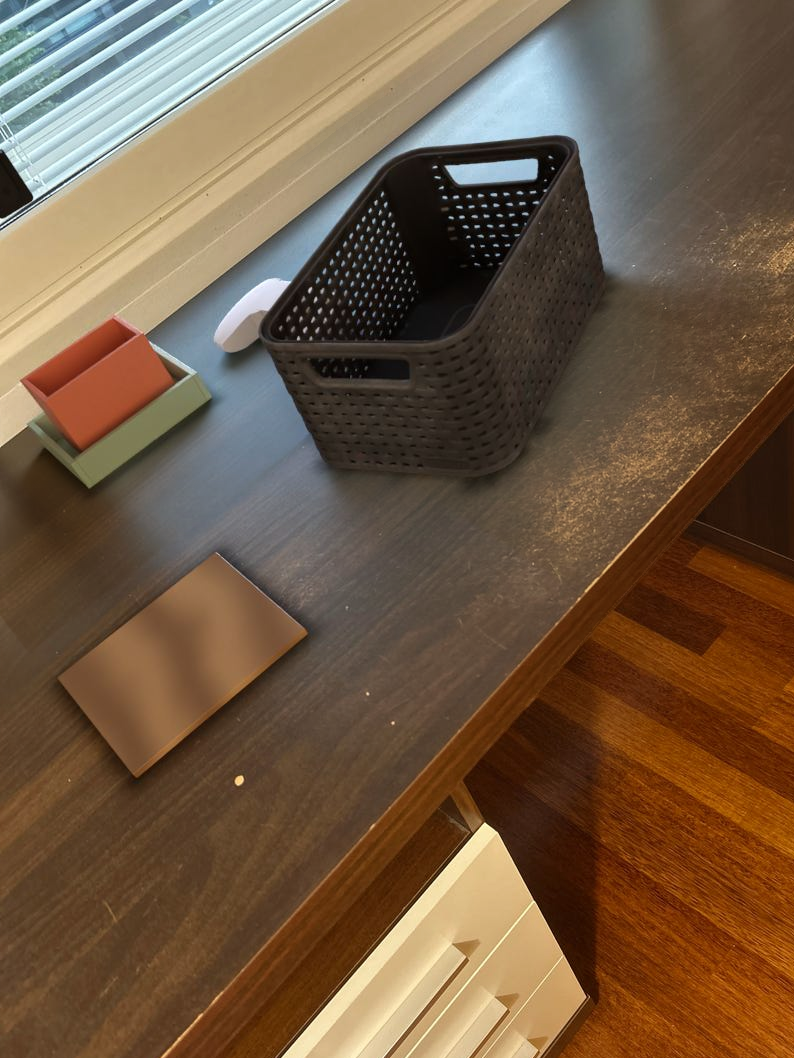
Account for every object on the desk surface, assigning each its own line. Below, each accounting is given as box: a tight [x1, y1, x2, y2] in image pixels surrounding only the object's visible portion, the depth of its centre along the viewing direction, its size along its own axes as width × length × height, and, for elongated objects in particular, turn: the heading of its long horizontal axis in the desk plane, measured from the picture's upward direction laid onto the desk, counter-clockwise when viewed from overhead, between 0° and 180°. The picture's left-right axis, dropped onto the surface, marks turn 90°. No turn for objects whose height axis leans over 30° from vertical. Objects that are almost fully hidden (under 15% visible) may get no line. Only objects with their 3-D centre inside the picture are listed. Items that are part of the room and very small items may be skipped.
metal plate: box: [57, 551, 309, 779], centre depth 79 cm, size 16×14×1 cm
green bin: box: [26, 340, 213, 489], centre depth 100 cm, size 15×11×4 cm
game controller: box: [213, 277, 351, 361], centre depth 102 cm, size 14×4×10 cm
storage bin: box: [258, 134, 608, 478], centre depth 87 cm, size 29×19×13 cm
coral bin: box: [19, 314, 176, 454], centre depth 98 cm, size 11×6×8 cm, turn 132°
